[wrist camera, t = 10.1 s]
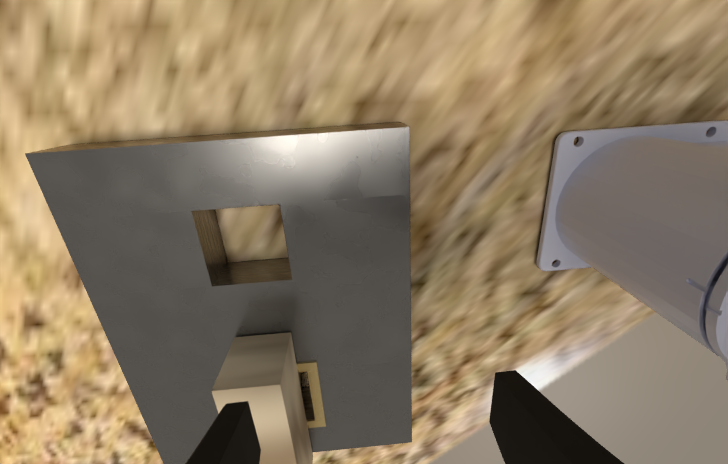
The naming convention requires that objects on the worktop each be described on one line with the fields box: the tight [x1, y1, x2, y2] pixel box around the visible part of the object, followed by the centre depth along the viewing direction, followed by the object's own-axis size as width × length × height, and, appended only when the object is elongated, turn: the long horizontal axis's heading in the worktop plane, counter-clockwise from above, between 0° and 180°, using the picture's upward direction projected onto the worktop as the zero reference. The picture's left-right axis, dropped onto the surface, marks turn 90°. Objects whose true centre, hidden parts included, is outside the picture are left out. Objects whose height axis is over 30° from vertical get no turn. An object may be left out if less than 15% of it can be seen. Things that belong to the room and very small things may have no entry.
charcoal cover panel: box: [25, 122, 412, 464], centre depth 19 cm, size 16×20×3 cm
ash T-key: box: [211, 332, 313, 464], centre depth 20 cm, size 10×3×6 cm, turn 3°
